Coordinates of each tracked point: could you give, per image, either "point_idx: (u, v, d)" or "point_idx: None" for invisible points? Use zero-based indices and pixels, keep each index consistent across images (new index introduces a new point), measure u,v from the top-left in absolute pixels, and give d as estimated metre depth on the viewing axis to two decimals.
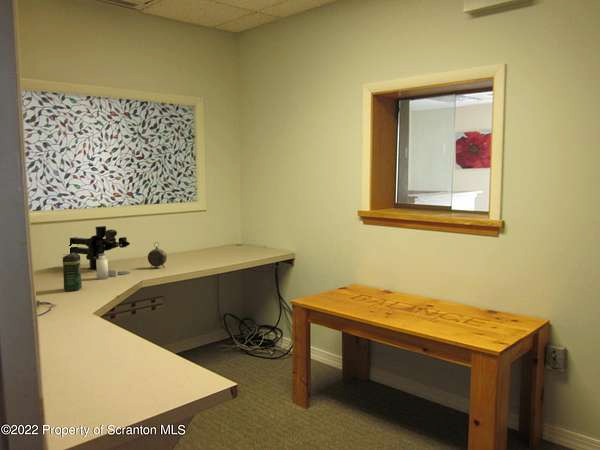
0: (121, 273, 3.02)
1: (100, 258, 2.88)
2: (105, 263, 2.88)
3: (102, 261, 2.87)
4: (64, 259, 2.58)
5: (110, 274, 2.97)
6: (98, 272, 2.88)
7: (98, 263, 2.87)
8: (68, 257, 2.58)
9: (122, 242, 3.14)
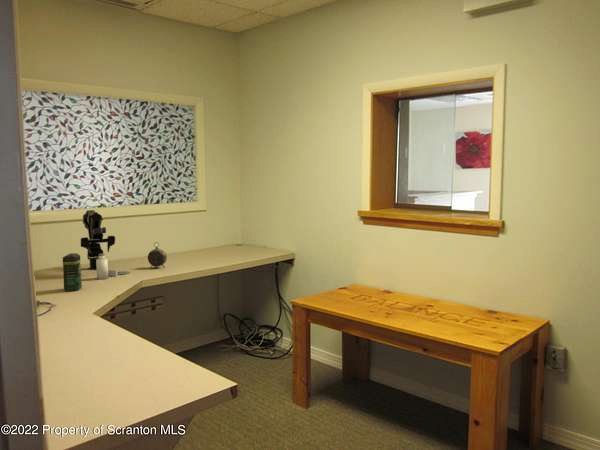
0: (121, 273, 3.02)
1: (100, 258, 2.88)
2: (105, 263, 2.88)
3: (102, 261, 2.87)
4: (64, 259, 2.58)
5: (110, 274, 2.97)
6: (98, 272, 2.88)
7: (98, 263, 2.87)
8: (68, 257, 2.58)
9: (107, 242, 3.02)
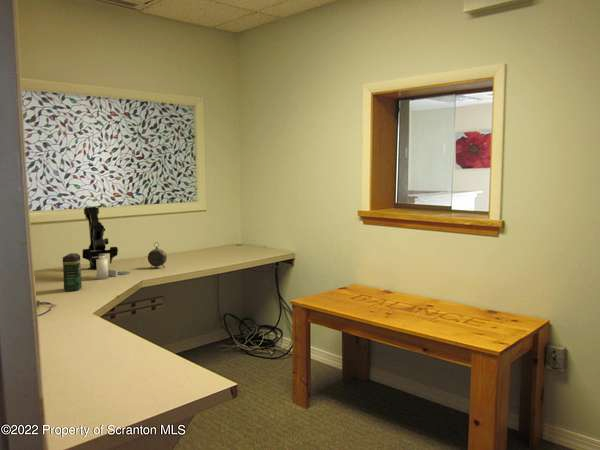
0: (121, 273, 3.02)
1: (100, 258, 2.88)
2: (105, 263, 2.88)
3: (102, 261, 2.87)
4: (64, 259, 2.58)
5: (110, 274, 2.97)
6: (98, 272, 2.88)
7: (98, 263, 2.87)
8: (68, 257, 2.58)
9: (110, 254, 2.95)
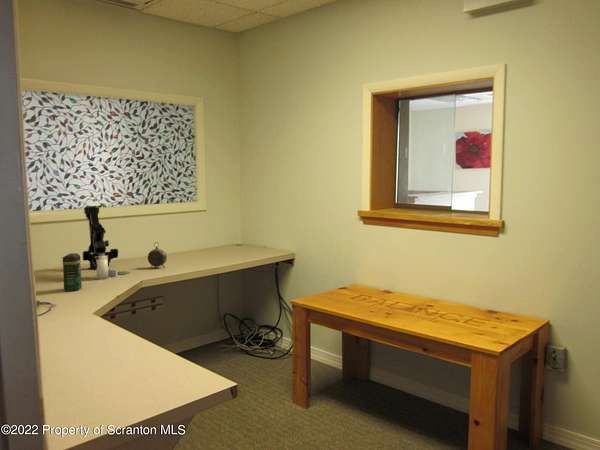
0: (121, 273, 3.02)
1: (100, 258, 2.88)
2: (105, 263, 2.88)
3: (102, 261, 2.87)
4: (64, 259, 2.58)
5: (110, 274, 2.97)
6: (98, 272, 2.88)
7: (98, 263, 2.87)
8: (68, 257, 2.58)
9: None
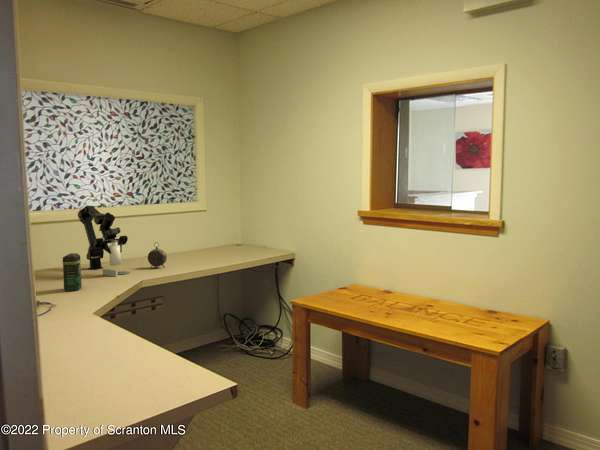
0: (121, 273, 3.02)
1: (114, 245, 2.95)
2: (119, 249, 2.96)
3: (116, 247, 2.95)
4: (64, 259, 2.58)
5: (110, 274, 2.97)
6: (112, 258, 2.95)
7: (112, 249, 2.94)
8: (68, 257, 2.58)
9: (118, 243, 3.02)
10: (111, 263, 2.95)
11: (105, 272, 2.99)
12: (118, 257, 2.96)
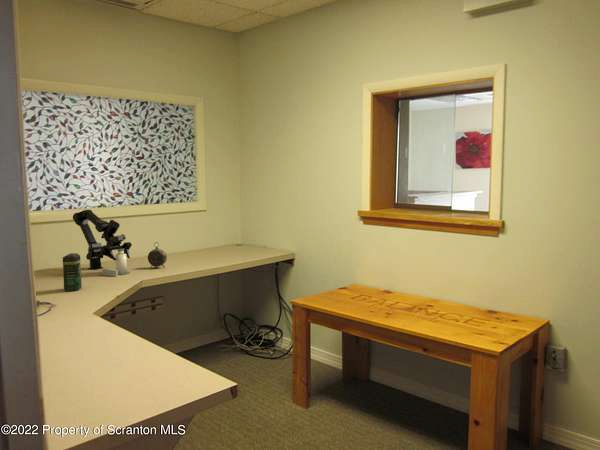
0: None
1: (121, 253, 3.02)
2: (126, 258, 3.03)
3: (124, 256, 3.01)
4: (64, 259, 2.58)
5: (110, 274, 2.97)
6: (119, 267, 3.01)
7: (120, 258, 3.00)
8: (68, 257, 2.58)
9: (125, 249, 3.09)
10: (118, 271, 3.01)
11: (105, 272, 2.99)
12: (125, 265, 3.03)
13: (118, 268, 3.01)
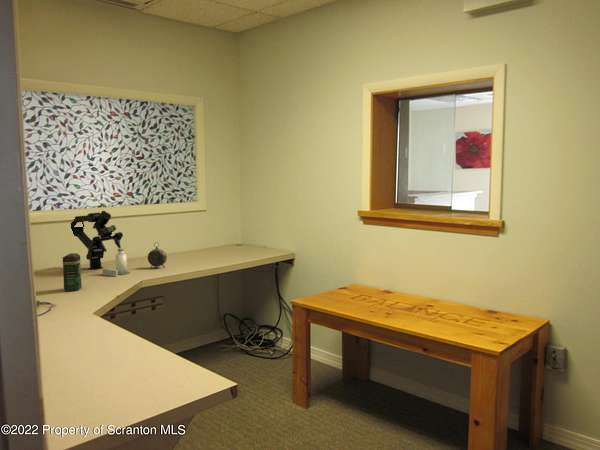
0: None
1: (121, 253, 3.02)
2: (126, 258, 3.03)
3: (124, 256, 3.01)
4: (64, 259, 2.58)
5: (110, 274, 2.97)
6: (119, 267, 3.01)
7: (120, 258, 3.00)
8: (68, 257, 2.58)
9: (116, 239, 3.13)
10: (118, 271, 3.01)
11: (105, 272, 2.99)
12: (125, 265, 3.03)
13: (118, 268, 3.01)
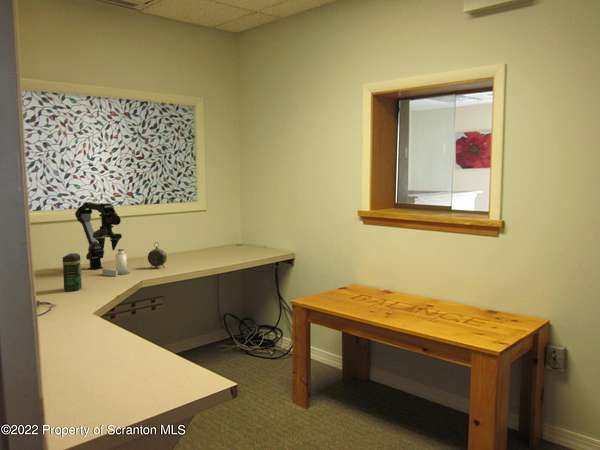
0: None
1: (121, 253, 3.02)
2: (126, 258, 3.03)
3: (124, 256, 3.01)
4: (64, 259, 2.58)
5: (110, 274, 2.97)
6: (119, 267, 3.01)
7: (120, 258, 3.00)
8: (68, 257, 2.58)
9: None
10: (118, 271, 3.01)
11: (105, 272, 2.99)
12: (125, 265, 3.03)
13: (118, 268, 3.01)
